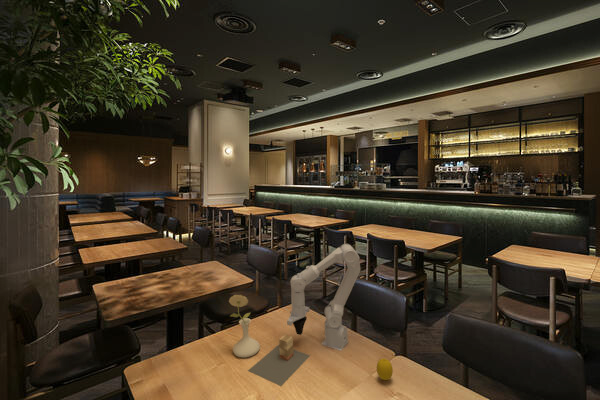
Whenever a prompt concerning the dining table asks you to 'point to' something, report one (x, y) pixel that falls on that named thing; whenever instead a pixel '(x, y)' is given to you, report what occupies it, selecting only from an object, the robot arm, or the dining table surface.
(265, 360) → the rubber mat
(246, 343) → the flower in vase
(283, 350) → the maple block
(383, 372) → the lemon
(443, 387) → the dining table surface
